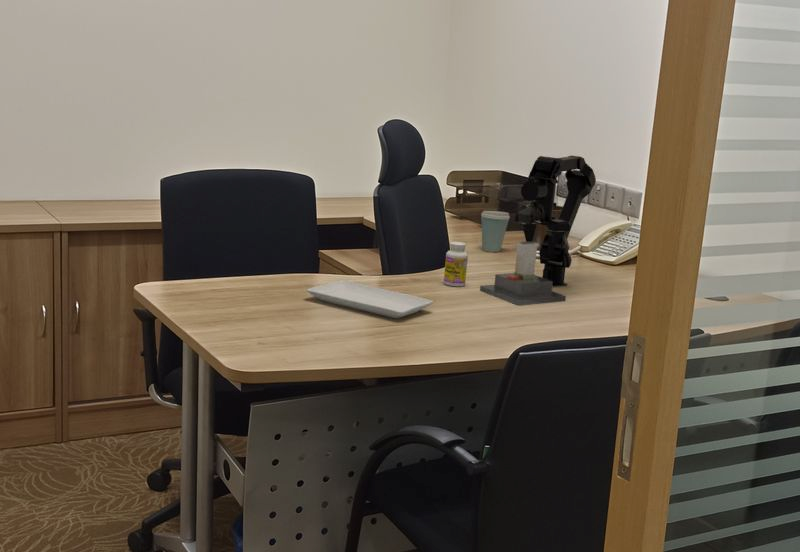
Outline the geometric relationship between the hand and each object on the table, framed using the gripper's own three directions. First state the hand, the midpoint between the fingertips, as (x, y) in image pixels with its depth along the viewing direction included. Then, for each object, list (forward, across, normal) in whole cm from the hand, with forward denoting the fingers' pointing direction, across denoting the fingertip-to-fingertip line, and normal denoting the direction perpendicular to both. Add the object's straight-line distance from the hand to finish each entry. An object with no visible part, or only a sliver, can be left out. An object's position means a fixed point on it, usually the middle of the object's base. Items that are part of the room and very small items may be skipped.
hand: (539, 249), depth 283 cm
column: (+8, +5, -10) cm, 13 cm away
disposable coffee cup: (+13, -54, +29) cm, 63 cm away
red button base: (+13, +5, -10) cm, 17 cm away
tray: (+13, -1, -61) cm, 62 cm away
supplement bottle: (+13, -14, -21) cm, 28 cm away
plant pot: (+13, -53, +54) cm, 77 cm away
